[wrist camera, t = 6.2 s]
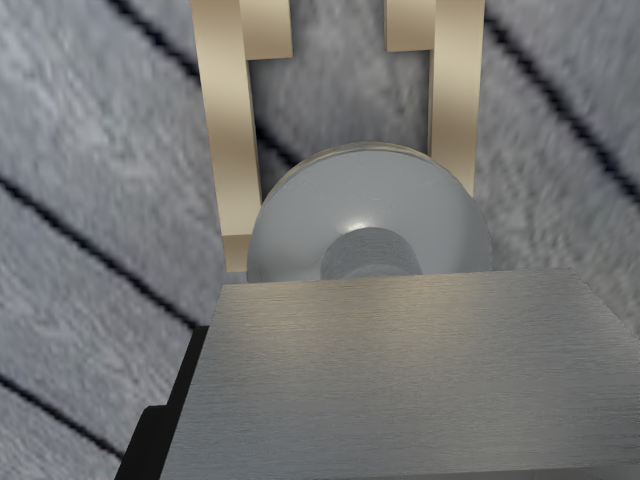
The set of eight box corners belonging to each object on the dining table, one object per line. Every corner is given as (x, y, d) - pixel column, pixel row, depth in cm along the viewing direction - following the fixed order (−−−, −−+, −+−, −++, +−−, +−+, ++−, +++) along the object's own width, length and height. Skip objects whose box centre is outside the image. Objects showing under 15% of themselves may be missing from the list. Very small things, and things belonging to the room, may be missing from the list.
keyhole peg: (474, 345, 16) (675, 794, 7) (262, 355, 16) (193, 809, 7) (489, 134, 13) (829, 409, 4) (238, 148, 13) (87, 443, 5)
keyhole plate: (454, 234, 30) (468, 260, 27) (235, 246, 31) (227, 272, 28) (479, -288, 21) (504, -332, 19) (170, -268, 22) (148, -308, 19)
